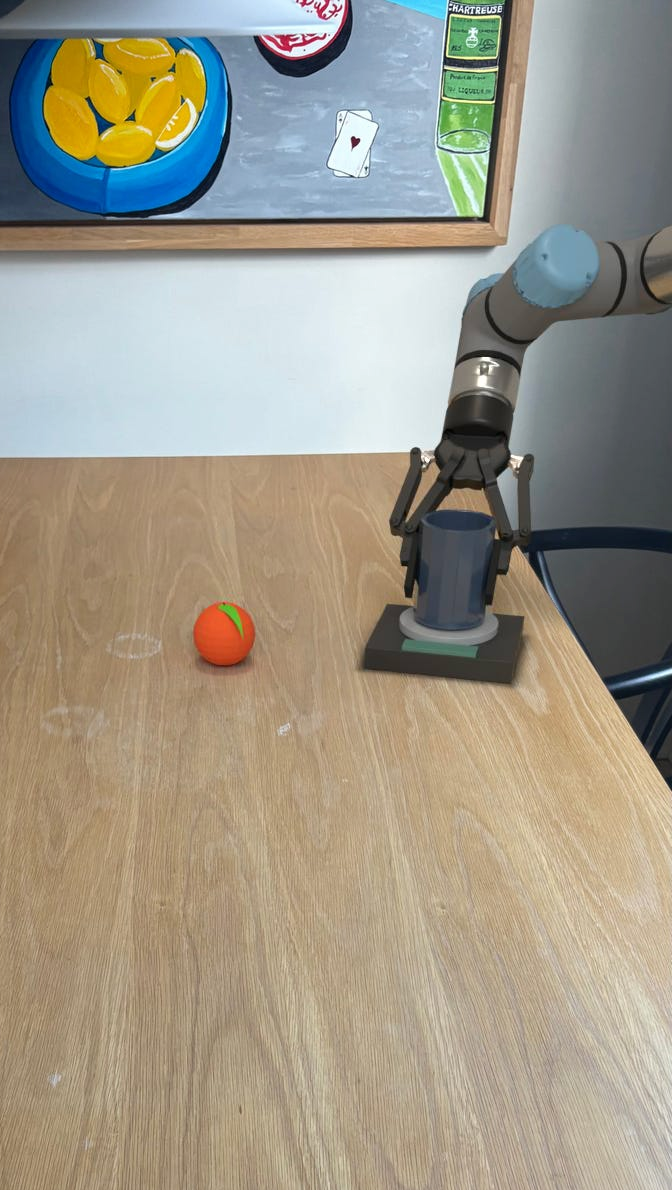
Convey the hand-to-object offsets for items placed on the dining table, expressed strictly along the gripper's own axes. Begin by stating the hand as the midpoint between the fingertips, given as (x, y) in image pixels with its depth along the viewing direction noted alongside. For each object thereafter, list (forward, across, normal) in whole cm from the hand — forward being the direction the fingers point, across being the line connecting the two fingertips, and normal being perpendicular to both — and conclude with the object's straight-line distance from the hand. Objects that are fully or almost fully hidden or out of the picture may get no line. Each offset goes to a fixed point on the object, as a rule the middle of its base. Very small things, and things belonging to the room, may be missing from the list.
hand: (447, 595), depth 134 cm
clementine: (+11, -23, 0) cm, 25 cm away
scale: (+4, 0, +7) cm, 8 cm away
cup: (0, 0, +5) cm, 5 cm away
